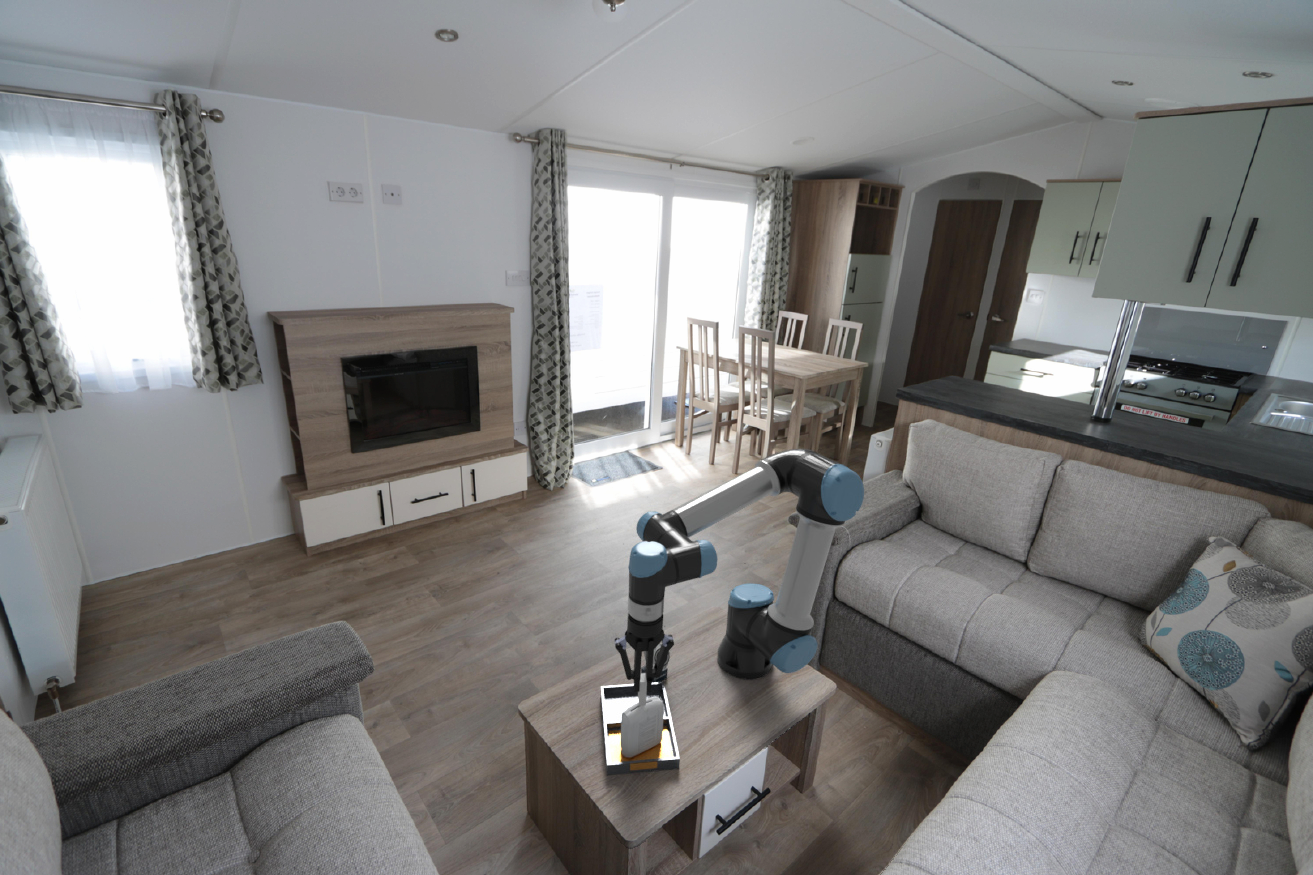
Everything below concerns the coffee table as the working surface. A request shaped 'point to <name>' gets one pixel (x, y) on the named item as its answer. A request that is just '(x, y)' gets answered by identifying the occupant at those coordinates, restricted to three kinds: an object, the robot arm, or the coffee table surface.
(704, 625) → the coffee table surface
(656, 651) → the watch
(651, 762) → the tray
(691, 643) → the coffee table surface
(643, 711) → the photo printer
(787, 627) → the robot arm
